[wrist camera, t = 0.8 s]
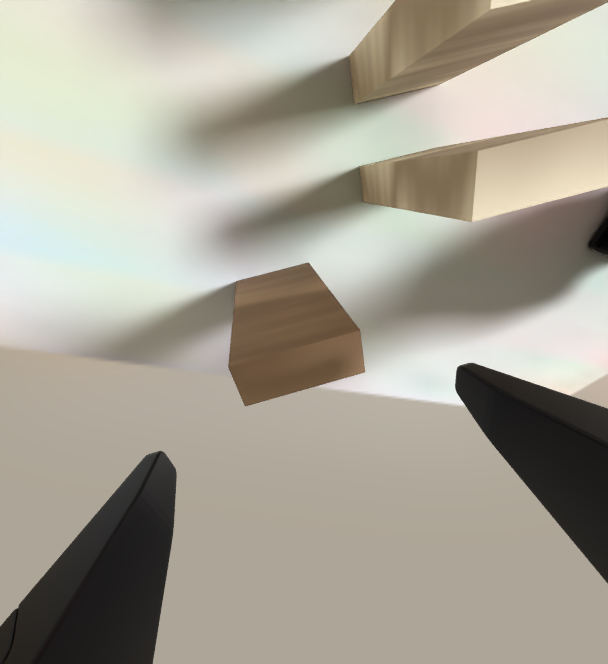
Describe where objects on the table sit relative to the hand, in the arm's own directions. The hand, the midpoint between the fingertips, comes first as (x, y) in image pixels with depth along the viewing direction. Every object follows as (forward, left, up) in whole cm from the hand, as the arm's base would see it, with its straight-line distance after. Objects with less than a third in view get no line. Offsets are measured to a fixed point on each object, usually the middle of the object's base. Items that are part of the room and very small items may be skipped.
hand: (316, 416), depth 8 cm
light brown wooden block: (-5, -9, -13) cm, 16 cm away
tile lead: (0, 0, -13) cm, 13 cm away
